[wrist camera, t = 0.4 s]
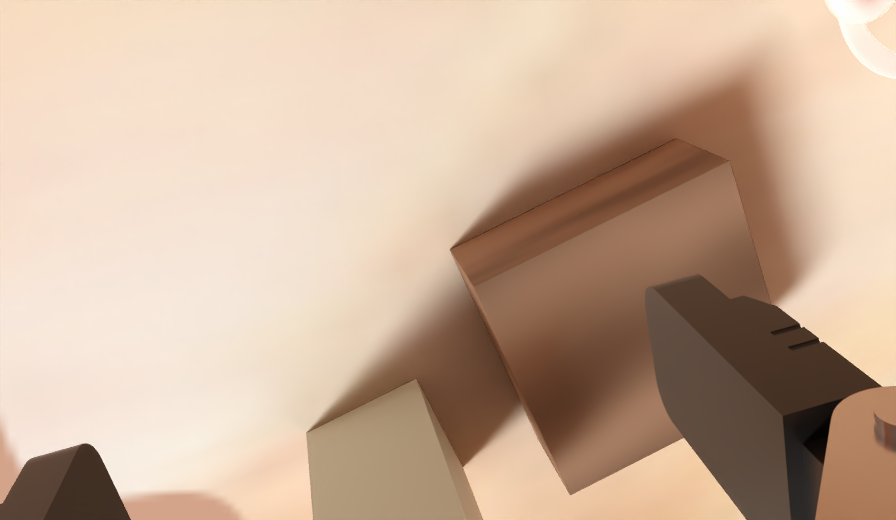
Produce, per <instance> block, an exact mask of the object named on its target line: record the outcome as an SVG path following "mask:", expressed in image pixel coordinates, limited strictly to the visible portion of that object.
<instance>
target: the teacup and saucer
mask: <svg viewBox="0 0 896 520" xmlns="http://www.w3.org/2000/svg"><path fill="white" fill-rule="evenodd" d="M824 1H825V4H826V6H827V7H828V9H829V10H830V12H831V13H832V14H833V15H834V16H835V17H837V18H838V20H839V24H840V28H841V31H842V34H843V36H844V39H845V41H846V43H847V45H848V46H849V48H850V49H851V51H852V52H853V54H854V55H855V56H856V57H857V58H858V60H859V61H860V62H862V63H863V64H864V65H865V66H866V67H868V68H869V69H871V70H872V71H874V72H876V73H878V74H880V75H883V76H886V77H890V78H895V79H896V52H895V51H892V50H890V49H888V48H886V47H884V46H883V45H882V44H880V43H879V42H878V41H877V40H876V39H875V38H874V37H873V36H872V34H871V33H870V31H869V30H868V28H867V26H866V24H865V23H868V22H871V21H873V20H875V19H877V18H879V17H880V16H882V15H883V14H884V13H886V12H887V11H888V10H889V9H890V7H891V6H892V5H893V4H894V2H895V1H896V0H824Z"/></svg>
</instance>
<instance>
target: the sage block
mask: <svg viewBox="0 0 896 520" xmlns="http://www.w3.org/2000/svg"><path fill="white" fill-rule="evenodd" d="M306 435H307V448H308V460H309V473H310V485H311V498H312V511H313V520H483V518H482V516H481V513H480V510H479V508H478V505H477V503H476V500H475V497H474V495H473V492H472V490H471V487H470V485H469V482H468V479H467V477H466V474H465V472H464V469H463V467H462V465H461V463H460V461H459V459H458V457H457V455H456V453H455V452H454V450H453V448H452V446H451V444H450V442H449V440H448V438H447V436H446V434H445V432H444V431H443V429H442V427H441V425H440V423H439V421H438V419H437V417H436V415H435V413H434V412H433V410H432V408H431V406H430V404H429V402H428V400H427V398H426V396H425V394H424V392H423V391H422V389H421V387H420V385H419V383H418V381H417V379H414V380H412V381H410V382H408V383H406V384H404V385H402V386H400V387H398V388H396V389H394V390H392V391H390V392H388V393H386V394H384V395H382V396H380V397H378V398H376V399H374V400H372V401H370V402H368V403H366V404H364V405H362V406H360V407H358V408H356V409H354V410H352V411H350V412H348V413H346V414H344V415H342V416H340V417H338V418H335V419H333V420H331V421H329V422H327V423H325V424H323V425H321V426H319V427H317V428H315V429H313V430H311V431H309V432H307V433H306Z"/></svg>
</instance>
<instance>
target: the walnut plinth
mask: <svg viewBox="0 0 896 520" xmlns="http://www.w3.org/2000/svg"><path fill="white" fill-rule="evenodd" d="M450 251H451V253H452V255H453V257H454V260H455V262H456V264H457V266H458V268H459V270H460V272H461V275H462V277H463V279H464V281H465V283H466V285H467V288H468V290H469V292H470V294H471V296H472V298H473V300H474V303H475V305H476V307H477V309H478V311H479V313H480V315H481V318H482V320H483V322H484V324H485V326H486V328H487V330H488V333H489V335H490V337H491V339H492V341H493V343H494V345H495V348H496V350H497V352H498V354H499V356H500V358H501V360H502V363H503V365H504V367H505V369H506V371H507V373H508V375H509V378H510V380H511V382H512V384H513V386H514V388H515V390H516V393H517V395H518V397H519V399H520V401H521V403H522V405H523V408H524V410H525V412H526V414H527V416H528V418H529V420H530V423H531V425H532V427H533V429H534V431H535V433H536V435H537V438H538V440H539V442H540V443H541V445H542V447H543V449H544V450H545V452H546V454H547V456H548V457H549V459H550V461H551V463H552V464H553V466H554V468H555V470H556V471H557V473H558V475H559V477H560V478H561V480H562V482H563V484H564V485H565V487H566V489H567V491H568V492H569V494H570V495H572V494H574V493H576V492H578V491H580V490H582V489H584V488H586V487H588V486H590V485H592V484H594V483H595V482H597V481H599V480H601V479H603V478H605V477H607V476H609V475H611V474H613V473H615V472H617V471H619V470H621V469H623V468H625V467H627V466H629V465H631V464H633V463H635V462H637V461H639V460H641V459H643V458H645V457H647V456H649V455H651V454H653V453H655V452H657V451H659V450H660V449H662V448H664V447H666V446H668V445H670V444H672V443H674V442H676V441H678V440H680V439H682V438H684V437H683V435H682V434H681V433H680V432H679V430H678V429H677V428H676V426H675V425H674V424H673V422H672V421H671V419H670V417H669V415H668V414H667V412H666V409H665V407H664V405H663V402H662V399H661V396H660V393H659V390H658V386H657V381H656V375H655V368H654V361H653V354H652V348H651V341H650V334H649V328H648V321H647V314H646V307H645V291H646V289H647V288H648V287H650V286H653V285H657V284H660V283H664V282H668V281H671V280H675V279H678V278H682V277H685V276H689V275H693V274H700V275H701V276H703V277H704V278H705V279H706V280H708V281H709V282H710V283H711V284H713V285H714V286H715V287H716V288H717V289H719V290H720V291H721V292H722V293H723V294H725V295H726V296H727V297H728V298H729V299H733V298H736V297H740V296H743V295H744V296H747V297H750V298H753V299H756V300H759V301H762V302H765V303H768V304H771V302H770V299H769V295H768V292H767V288H766V285H765V281H764V278H763V275H762V271H761V268H760V264H759V261H758V257H757V254H756V250H755V247H754V244H753V240H752V237H751V233H750V230H749V226H748V223H747V219H746V216H745V212H744V209H743V206H742V202H741V199H740V195H739V192H738V188H737V185H736V181H735V178H734V175H733V171H732V168H731V164H730V161H729V160H726V159H724V158H721V157H719V156H717V155H714V154H712V153H710V152H707V151H705V150H702V149H700V148H698V147H695V146H693V145H690V144H688V143H686V142H683V141H681V140H678V139H674V140H672V141H670V142H668V143H666V144H664V145H662V146H660V147H658V148H656V149H654V150H652V151H650V152H648V153H646V154H644V155H642V156H640V157H638V158H636V159H634V160H632V161H630V162H628V163H626V164H624V165H621V166H619V167H617V168H615V169H613V170H611V171H609V172H607V173H605V174H603V175H601V176H599V177H597V178H595V179H593V180H591V181H589V182H587V183H585V184H583V185H581V186H579V187H577V188H575V189H573V190H571V191H568V192H566V193H564V194H562V195H560V196H558V197H556V198H554V199H552V200H550V201H548V202H546V203H544V204H542V205H540V206H538V207H536V208H534V209H532V210H530V211H528V212H526V213H524V214H522V215H520V216H518V217H515V218H513V219H511V220H509V221H507V222H505V223H503V224H501V225H499V226H497V227H495V228H493V229H491V230H489V231H487V232H485V233H483V234H481V235H479V236H477V237H475V238H473V239H471V240H469V241H467V242H465V243H462V244H460V245H458V246H456V247H454V248H452V249H450Z"/></svg>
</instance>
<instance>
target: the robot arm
mask: <svg viewBox="0 0 896 520" xmlns="http://www.w3.org/2000/svg"><path fill="white" fill-rule="evenodd" d="M645 307H646V314H647V321H648V328H649V334H650V341H651V348H652V354H653V361H654V368H655V375H656V381H657V386H658V390H659V393H660V396H661V399H662V402H663V405H664V407H665V409H666V412H667V414H668V415H669V417H670V419H671V421H672V422H673V424H674V425H675V426H676V428H677V429H678V430H679V432H680V433H681V434H682V435H683V437H684V438H685V439H686V441H687V442H688V443H689V445H690V446H691V447H692V449H693V450H694V451H695V452H696V454H697V455H698V456H699V458H700V459H701V460H702V462H703V463H704V464H705V466H706V467H707V468H708V470H709V471H710V472H711V473H712V475H713V476H714V477H715V479H716V480H717V481H718V483H719V484H720V485H721V487H722V488H723V489H724V490H725V492H726V493H727V494H728V496H729V497H730V498H731V500H732V501H733V502H734V504H735V505H736V506H737V508H738V509H739V510H740V511H741V513H742V514H743V515H744V517H745V518H746V519H747V520H896V386H889V387H882V386H881V385H879V384H878V383H877V382H875V381H874V380H873V379H872V378H870V377H869V376H868V375H866V374H865V373H864V372H862V371H861V370H860V369H858V368H857V367H856V366H854V365H853V364H852V363H851V362H849V361H848V360H847V359H845V358H844V357H843V356H841V355H840V354H839V353H837V352H836V351H835V350H834V349H832V348H831V347H830V346H828V345H827V344H826V343H824V342H821V343H820V341H819V338H818V337H816V336H815V335H814V334H813V333H811V332H810V331H809V330H807V329H806V328H805V327H803V328H801V327H800V324H799V323H798V322H797V321H795V320H794V319H793V318H792V317H790V316H789V315H788V314H786V313H785V312H784V311H782V310H781V309H780V308H778V307H777V306H774V305H771V304H768V303H765V302H762V301H759V300H756V299H753V298H750V297H747V296H744V295H743V296H740V297H736V298H733V299H729V298H728V297H727V296H726V295H725V294H723V293H722V292H721V291H720V290H719V289H717V288H716V287H715V286H714V285H713V284H711V283H710V282H709V281H708V280H706V279H705V278H704V277H703V276H701V275H700V274H693V275H689V276H685V277H682V278H678V279H675V280H671V281H668V282H664V283H660V284H657V285H653V286H650V287H648V288H647V289H646V291H645ZM0 520H131V519H130V517H129V515H128V513H127V511H126V509H125V507H124V505H123V502H122V500H121V498H120V496H119V494H118V492H117V490H116V488H115V486H114V484H113V482H112V480H111V477H110V475H109V473H108V471H107V469H106V467H105V465H104V463H103V461H102V459H101V457H100V455H99V453H98V452H97V450H96V449H95V448H94V447H93V446H91V445H90V444H81V445H77V446H74V447H70V448H67V449H63V450H59V451H56V452H52V453H49V454H45V455H42V456H38V457H34V458H32V459H30V460H28V461H27V463H26V464H25V465H24V467H23V469H22V471H21V472H20V474H19V476H18V478H17V479H16V482H15V483H14V485H13V486H12V488H11V490H10V492H9V494H8V495H7V497H6V499H5V501H4V502H3V503H2V504H0Z"/></svg>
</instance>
